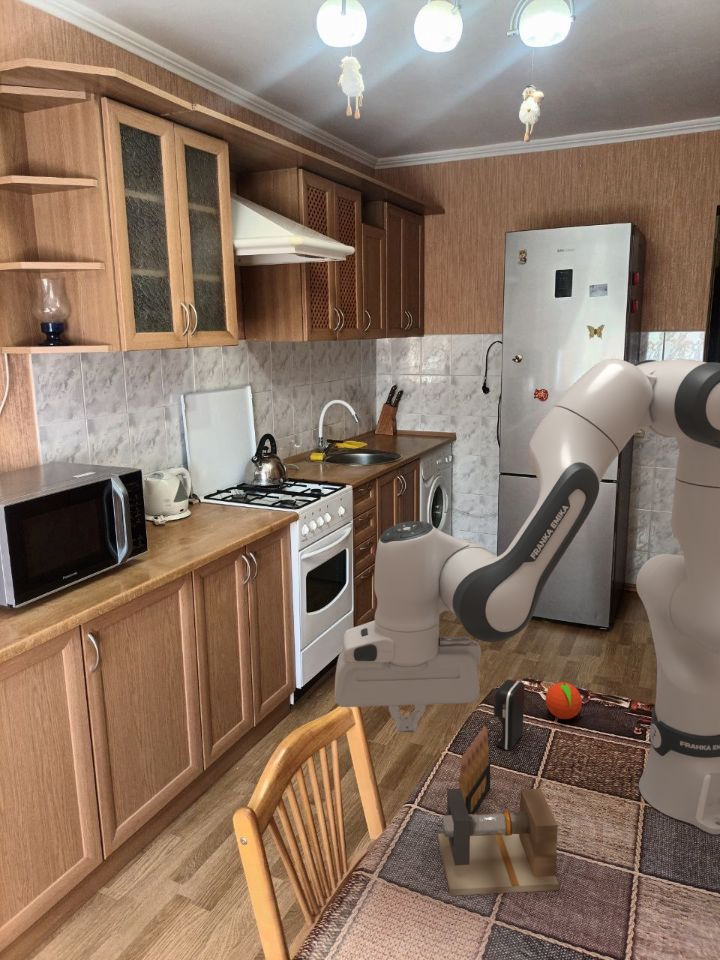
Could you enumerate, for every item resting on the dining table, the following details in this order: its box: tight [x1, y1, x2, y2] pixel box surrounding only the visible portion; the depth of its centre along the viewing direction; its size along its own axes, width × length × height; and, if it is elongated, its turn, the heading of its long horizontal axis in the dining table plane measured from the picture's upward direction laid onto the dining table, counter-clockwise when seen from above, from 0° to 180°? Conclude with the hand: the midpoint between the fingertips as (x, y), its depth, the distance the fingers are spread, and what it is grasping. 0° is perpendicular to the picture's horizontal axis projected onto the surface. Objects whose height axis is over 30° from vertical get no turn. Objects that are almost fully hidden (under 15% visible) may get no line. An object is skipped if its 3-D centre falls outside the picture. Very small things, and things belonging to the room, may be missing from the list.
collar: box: [446, 787, 470, 865], centre depth 102 cm, size 2×7×7 cm, turn 3°
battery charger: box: [493, 679, 525, 751], centre depth 133 cm, size 7×4×11 cm, turn 148°
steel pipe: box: [442, 811, 530, 837], centre depth 102 cm, size 14×3×3 cm, turn 93°
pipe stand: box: [437, 788, 560, 897], centre depth 103 cm, size 15×11×9 cm
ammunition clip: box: [458, 725, 491, 814], centre depth 115 cm, size 11×2×12 cm, turn 150°
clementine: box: [545, 681, 583, 720], centre depth 141 cm, size 8×7×7 cm
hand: (406, 729), depth 102 cm, fingers closed
